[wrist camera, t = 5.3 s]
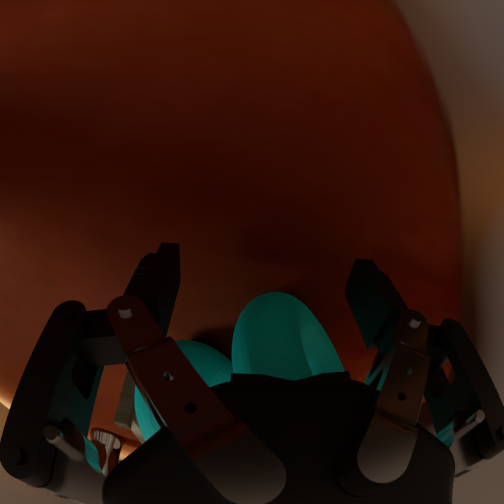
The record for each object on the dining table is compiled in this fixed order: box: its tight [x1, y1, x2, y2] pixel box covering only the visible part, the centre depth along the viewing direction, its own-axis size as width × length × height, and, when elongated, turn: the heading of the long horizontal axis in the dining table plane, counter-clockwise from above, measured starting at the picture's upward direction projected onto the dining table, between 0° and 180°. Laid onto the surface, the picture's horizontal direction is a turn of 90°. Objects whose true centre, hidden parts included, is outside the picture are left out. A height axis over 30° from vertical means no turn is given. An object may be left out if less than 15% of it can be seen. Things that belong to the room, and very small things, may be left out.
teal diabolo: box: [134, 292, 345, 441], centre depth 14 cm, size 10×10×10 cm
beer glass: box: [74, 428, 125, 504], centre depth 26 cm, size 7×7×15 cm
